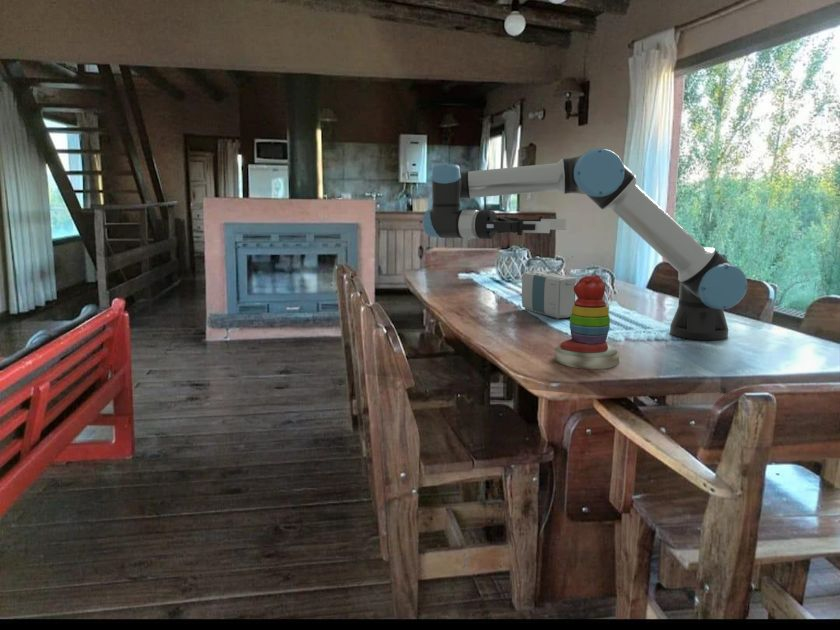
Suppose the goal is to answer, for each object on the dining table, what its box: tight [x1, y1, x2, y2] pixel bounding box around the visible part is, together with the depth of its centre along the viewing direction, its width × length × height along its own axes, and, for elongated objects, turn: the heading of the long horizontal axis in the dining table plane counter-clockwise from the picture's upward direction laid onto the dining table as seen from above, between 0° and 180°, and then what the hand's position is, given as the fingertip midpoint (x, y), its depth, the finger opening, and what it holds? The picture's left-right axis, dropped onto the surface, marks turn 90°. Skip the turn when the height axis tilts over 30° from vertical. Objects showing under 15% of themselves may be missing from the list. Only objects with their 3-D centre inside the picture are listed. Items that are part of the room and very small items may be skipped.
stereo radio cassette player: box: [521, 256, 578, 320], centre depth 213 cm, size 21×8×20 cm, turn 24°
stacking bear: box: [559, 274, 611, 353], centre depth 154 cm, size 11×10×18 cm
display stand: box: [554, 344, 620, 370], centre depth 155 cm, size 15×15×3 cm
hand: (558, 225), depth 159 cm, fingers open, 13 cm apart
